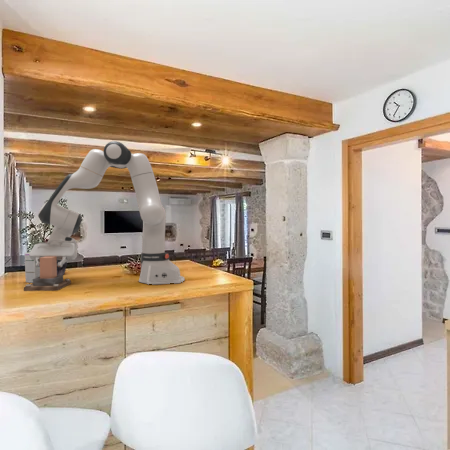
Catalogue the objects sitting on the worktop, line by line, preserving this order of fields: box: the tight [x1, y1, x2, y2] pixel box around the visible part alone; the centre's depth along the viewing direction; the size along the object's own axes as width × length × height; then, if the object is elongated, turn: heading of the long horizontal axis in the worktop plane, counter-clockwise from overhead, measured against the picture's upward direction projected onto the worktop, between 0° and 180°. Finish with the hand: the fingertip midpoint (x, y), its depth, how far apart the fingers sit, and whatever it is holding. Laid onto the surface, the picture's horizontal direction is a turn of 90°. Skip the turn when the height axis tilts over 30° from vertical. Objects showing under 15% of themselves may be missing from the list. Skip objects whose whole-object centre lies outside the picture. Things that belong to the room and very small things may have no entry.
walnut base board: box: [23, 275, 72, 292], centre depth 144 cm, size 14×14×4 cm
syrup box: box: [24, 251, 40, 284], centre depth 155 cm, size 6×6×14 cm
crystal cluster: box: [57, 260, 68, 276], centre depth 172 cm, size 13×14×10 cm
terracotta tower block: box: [40, 256, 57, 279], centre depth 144 cm, size 5×5×12 cm
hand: (48, 266), depth 144 cm, fingers open, 8 cm apart
